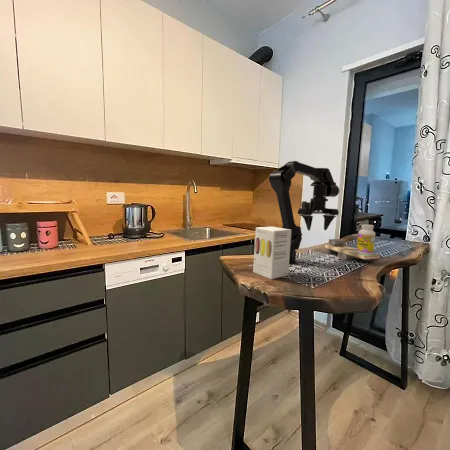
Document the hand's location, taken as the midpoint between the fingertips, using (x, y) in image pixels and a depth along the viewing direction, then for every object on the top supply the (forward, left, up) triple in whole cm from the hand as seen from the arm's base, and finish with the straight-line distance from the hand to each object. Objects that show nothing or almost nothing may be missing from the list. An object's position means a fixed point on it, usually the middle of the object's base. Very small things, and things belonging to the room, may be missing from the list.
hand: (317, 230), depth 118 cm
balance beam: (+17, -4, -13) cm, 22 cm away
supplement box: (-33, -17, -13) cm, 39 cm away
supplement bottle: (+17, -12, -9) cm, 23 cm away
